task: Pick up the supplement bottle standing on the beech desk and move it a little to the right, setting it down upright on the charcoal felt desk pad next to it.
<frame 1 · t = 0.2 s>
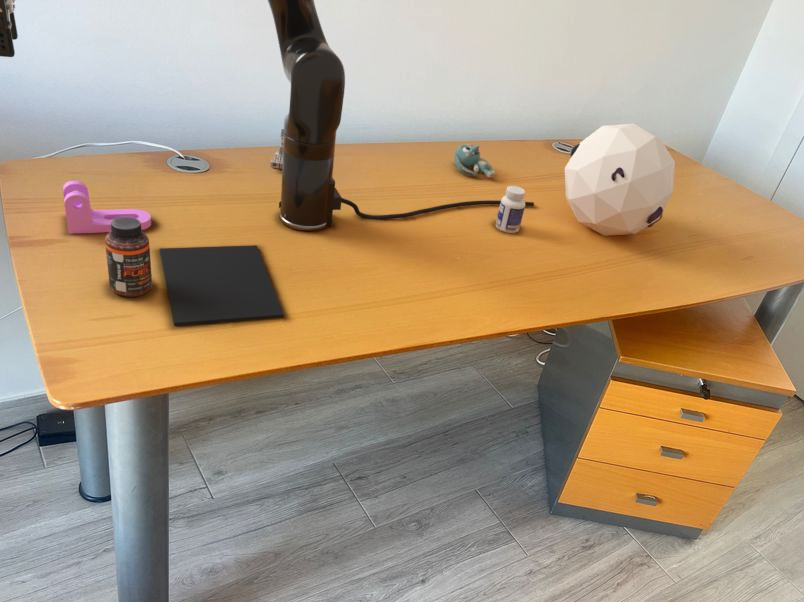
hand: (7, 47, 101), 29 cm above the table, tool pointing down, fingers open, 8 cm apart
pill bottle: (506, 228, 152), on the table
supplement bottle: (131, 289, 109), on the table
geometric sculpture: (602, 228, 162), on the table
stuffed animal: (472, 172, 175), on the table
desk pad: (219, 283, 114), on the table
bracket: (110, 225, 122), on the table
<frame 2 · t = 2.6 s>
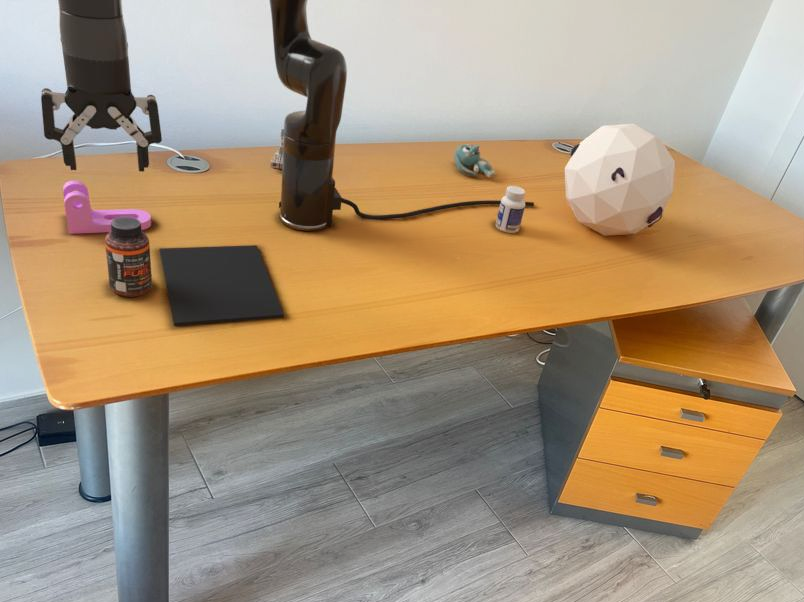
hand: (108, 168, 99), 19 cm above the table, tool pointing down, fingers open, 8 cm apart
nothing on the table moved.
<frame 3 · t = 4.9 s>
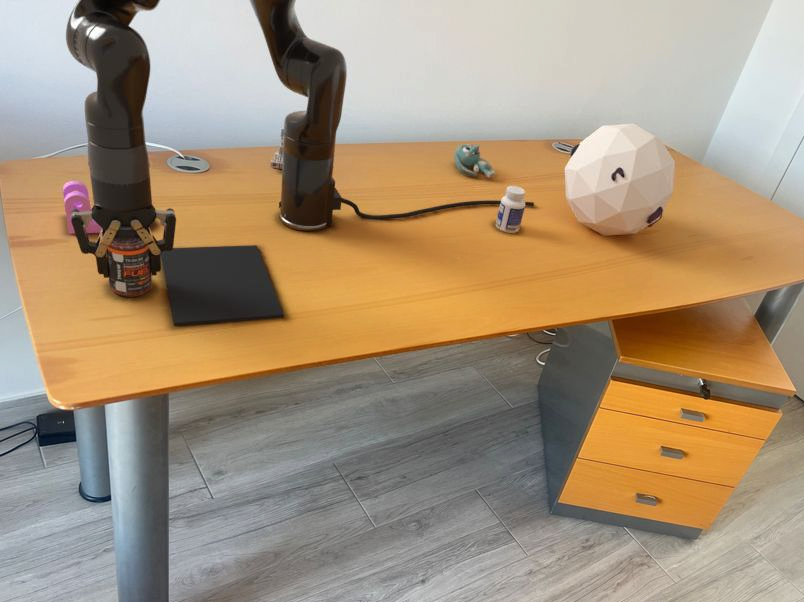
hand: (130, 273, 107), 3 cm above the table, tool pointing down, fingers closed on supplement bottle, 6 cm apart
supplement bottle: (131, 289, 109), on the table, touching gripper
everything else where it was.
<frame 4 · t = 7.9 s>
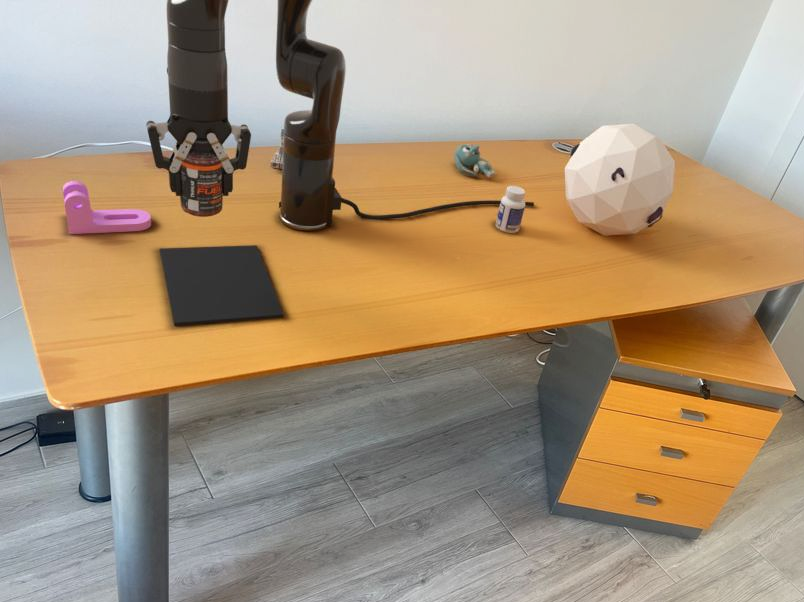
hand: (201, 193, 104), 16 cm above the table, tool pointing down, fingers closed on supplement bottle, 6 cm apart
supplement bottle: (202, 210, 106), point 13 cm above the table, touching gripper
everything else where it was.
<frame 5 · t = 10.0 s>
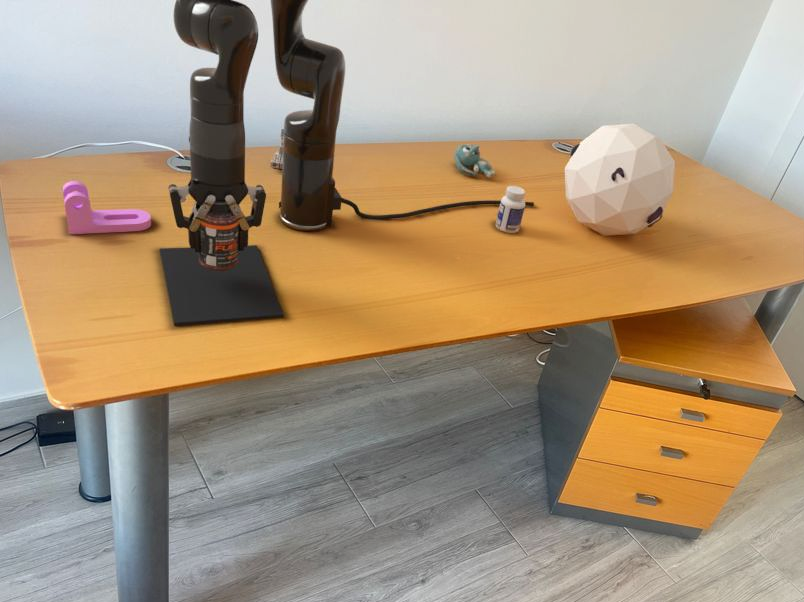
hand: (218, 248, 110), 6 cm above the table, tool pointing down, fingers closed on supplement bottle, 6 cm apart
supplement bottle: (218, 264, 112), point 4 cm above the table, touching gripper
everything else where it was.
when the fingers open (3 cm above the table, at t = 11.4 s): supplement bottle stays where it is, resting on desk pad.
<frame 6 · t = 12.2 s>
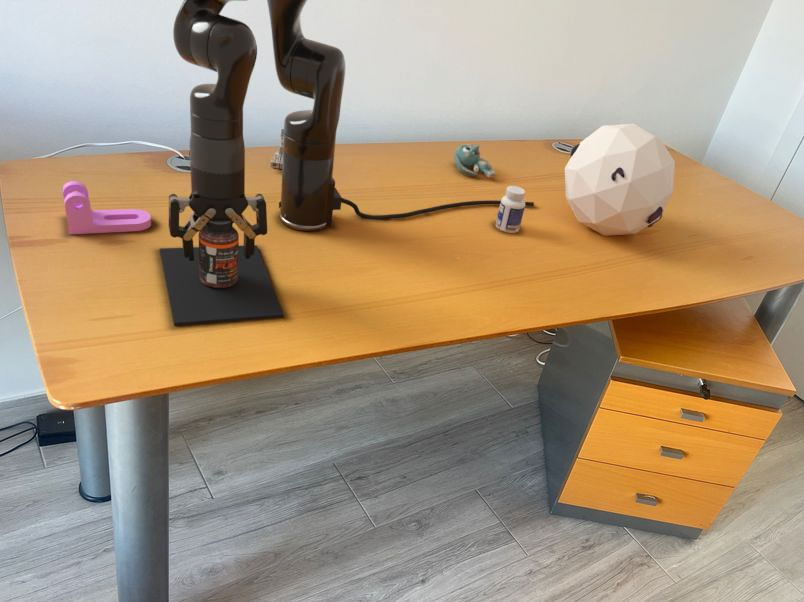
hand: (219, 257, 111), 5 cm above the table, tool pointing down, fingers open, 8 cm apart
supplement bottle: (219, 281, 114), resting on desk pad
everything else where it was.
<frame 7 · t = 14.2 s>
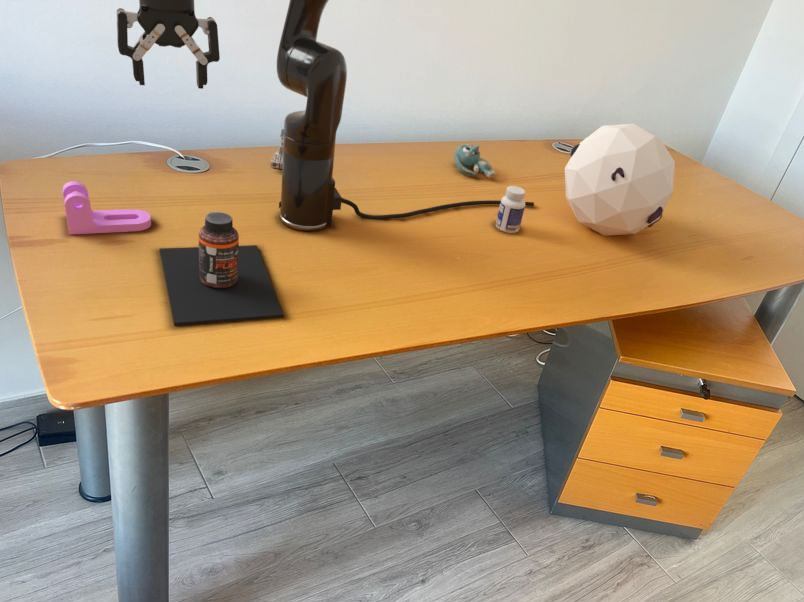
hand: (171, 85, 110), 26 cm above the table, tool pointing down, fingers open, 8 cm apart
nothing on the table moved.
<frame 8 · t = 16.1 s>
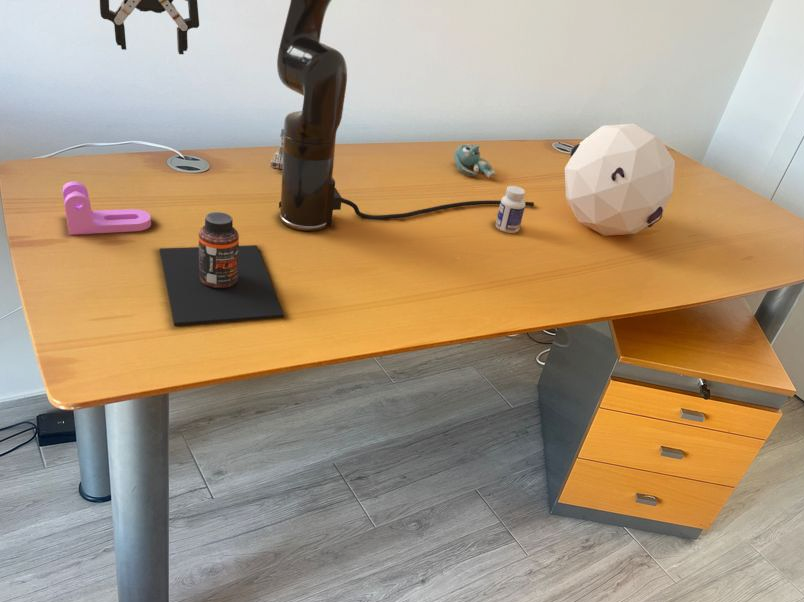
hand: (152, 50, 114), 28 cm above the table, tool pointing down, fingers open, 8 cm apart
nothing on the table moved.
at the end: supplement bottle inside the target area on the desk pad (0.1 cm from its centre), point 0.4 cm above the desk pad's base; supplement bottle tilted 0°; the gripper is holding nothing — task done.
